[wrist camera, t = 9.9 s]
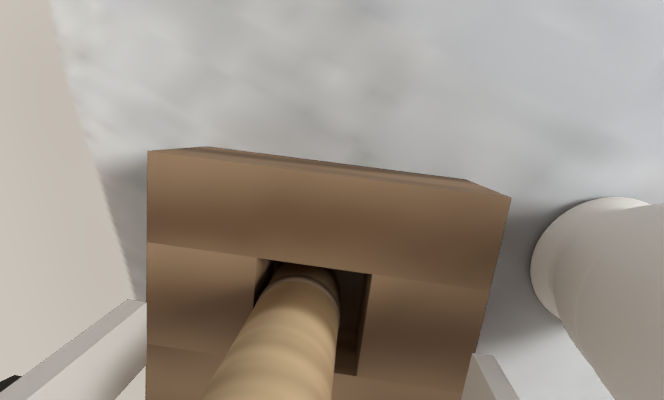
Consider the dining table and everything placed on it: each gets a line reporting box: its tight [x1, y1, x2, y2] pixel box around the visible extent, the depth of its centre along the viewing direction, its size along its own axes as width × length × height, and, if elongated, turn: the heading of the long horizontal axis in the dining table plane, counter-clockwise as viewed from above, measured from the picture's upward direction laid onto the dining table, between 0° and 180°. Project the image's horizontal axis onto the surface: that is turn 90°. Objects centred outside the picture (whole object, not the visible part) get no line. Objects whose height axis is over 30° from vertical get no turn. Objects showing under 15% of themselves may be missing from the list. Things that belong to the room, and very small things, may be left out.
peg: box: [200, 262, 341, 400], centre depth 14 cm, size 4×4×12 cm
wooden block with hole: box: [146, 147, 511, 400], centre depth 19 cm, size 18×16×6 cm
